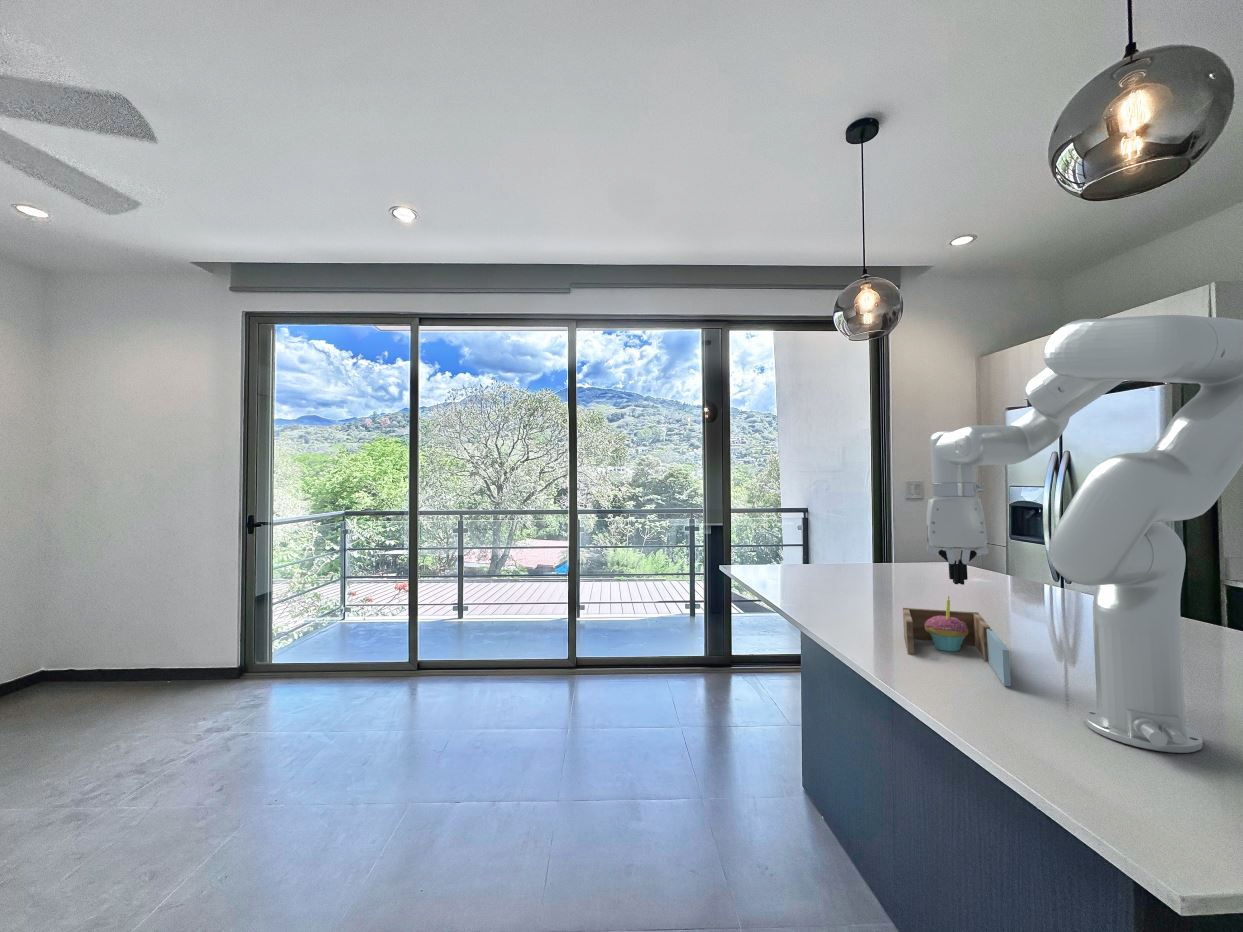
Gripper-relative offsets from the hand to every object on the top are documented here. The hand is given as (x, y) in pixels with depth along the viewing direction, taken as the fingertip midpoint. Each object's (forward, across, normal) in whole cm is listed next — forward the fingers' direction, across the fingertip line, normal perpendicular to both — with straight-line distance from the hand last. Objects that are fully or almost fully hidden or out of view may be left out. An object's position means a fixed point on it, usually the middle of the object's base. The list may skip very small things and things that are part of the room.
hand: (958, 583), depth 111 cm
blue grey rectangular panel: (+16, -6, +2) cm, 18 cm away
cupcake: (+17, +1, -14) cm, 22 cm away
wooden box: (+17, +2, -14) cm, 22 cm away
